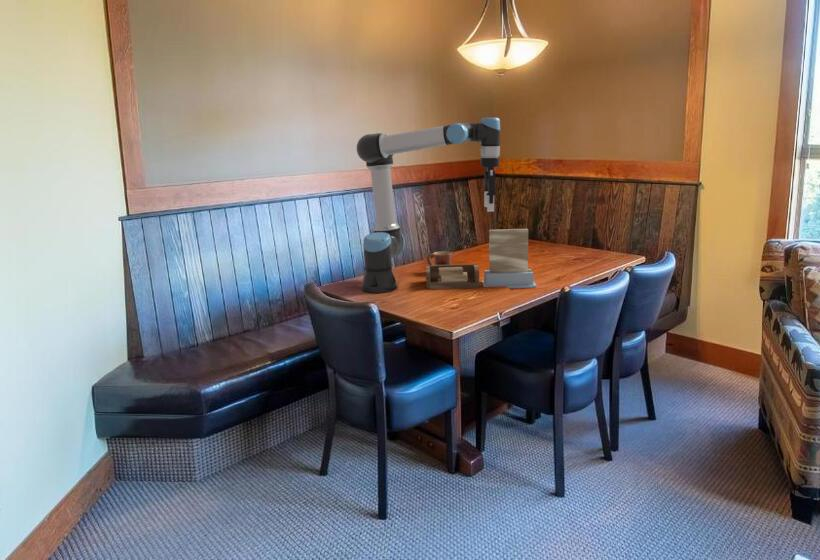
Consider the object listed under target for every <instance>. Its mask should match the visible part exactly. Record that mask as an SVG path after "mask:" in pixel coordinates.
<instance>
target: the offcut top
mask: <svg viewBox="0 0 820 560" xmlns="http://www.w3.org/2000/svg"><path fill="white" fill-rule="evenodd" d="M451 275H463V268H462V267H445V268H439V276H451Z"/></svg>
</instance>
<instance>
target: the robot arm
mask: <svg viewBox="0 0 820 560" xmlns="http://www.w3.org/2000/svg"><path fill="white" fill-rule="evenodd" d="M500 140H501V119H500V118H499V117H482V118H481V120H480V122H455V123H451V124H446V125H441V126H436V127H435V126H433V127H428V128H424V129H417V130H412V131H406V132H400V133H395V134H389V135H387V134H385V133H378V132H377V133H369V134H365V135H363V136H362V137H360V138H359V139H358V141H357V144H356V153H357V156H358V157H359V158H360V159H361V160H362V162H363V161H364V163H365V166H366V168H367V169H368V170H370V177H371V187H372V193H373V194H372V196H373V203H374V213H375V221H376V226H375V227H374V228H373V233H368V234H367V235H365V236H364V238H363V240H362V241H363V244H362V247H363V261H364V274H363V278H362V281H361V290H362V292H364V293H365V292H366V293H370V294H371V293H372V294H375V293H376V294H382V293H388V292H389V293H390V292H393V291H395V290H397V288H398V283H397V280H396V277H395V273H394V272H393V262H392V260H393V258H395V257H397V256H399V255H400V254H401V252H402V251H404V248H405V244H406V243H405V238H404V235H403V233H401V227H400V225H399V224H398V223H397V220H396V211H395V210H396V209H395V203H394V202H395V201H394V200H395V199H394V190H393V181H392V173H391V168H392V167H393V165H394V159H393V156H394V155H395V154H401V153H408V152H414V151H420V150H426V149H431V148H437V147H444V146H451V145H459V144H462V143H475V142H476V143H480V147H481V148H479V151H480V156H481V157H480V167H482V168H484V186H483V189H484V195H483V197H484V198H483V203H484V204H483V206H484V208H486V209H487V210H486V212H490V213H491V212H495V195H496V181H495V180H496V170H495V169H494V168H499V166H500V153H501V144H500V143H501V141H500Z"/></svg>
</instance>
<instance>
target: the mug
mask: <svg viewBox="0 0 820 560" xmlns="http://www.w3.org/2000/svg"><path fill="white" fill-rule="evenodd" d="M452 255H453V253H452V252H451V251H444V250H443V251H434V252H433V253H429V254H428V255H427V256H426V259H427V260H426V261H427V263H428V264H427V265H452V261H451V260H452ZM430 257H433V259H434V264H432V263H431V260H430V259H431V258H430Z"/></svg>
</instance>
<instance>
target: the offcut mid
mask: <svg viewBox="0 0 820 560" xmlns="http://www.w3.org/2000/svg"><path fill="white" fill-rule="evenodd" d="M442 281H468V275H467V272H463V275H451V276H441V282H442Z"/></svg>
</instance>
